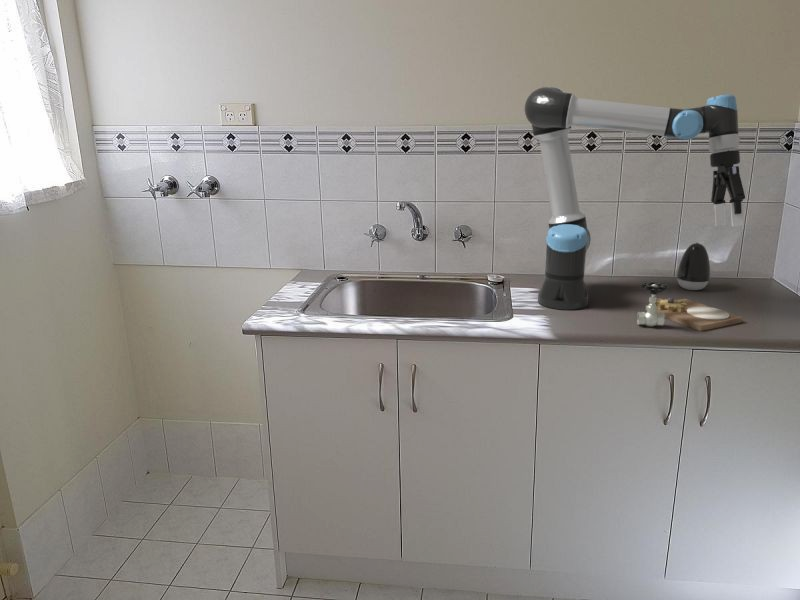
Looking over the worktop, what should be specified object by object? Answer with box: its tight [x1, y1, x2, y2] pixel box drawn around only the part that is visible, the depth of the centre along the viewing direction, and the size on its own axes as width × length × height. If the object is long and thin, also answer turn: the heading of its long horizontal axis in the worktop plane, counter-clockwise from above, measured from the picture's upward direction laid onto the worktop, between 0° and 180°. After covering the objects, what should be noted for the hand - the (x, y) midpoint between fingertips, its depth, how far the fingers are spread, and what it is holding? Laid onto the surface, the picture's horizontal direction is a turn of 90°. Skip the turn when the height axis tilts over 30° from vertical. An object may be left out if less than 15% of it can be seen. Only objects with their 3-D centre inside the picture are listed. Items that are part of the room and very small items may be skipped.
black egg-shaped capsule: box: [675, 242, 711, 291], centre depth 209 cm, size 10×10×15 cm
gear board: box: [644, 297, 744, 332], centre depth 184 cm, size 20×16×4 cm
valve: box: [636, 280, 668, 327], centre depth 175 cm, size 7×7×12 cm
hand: (728, 226), depth 184 cm, fingers open, 13 cm apart
